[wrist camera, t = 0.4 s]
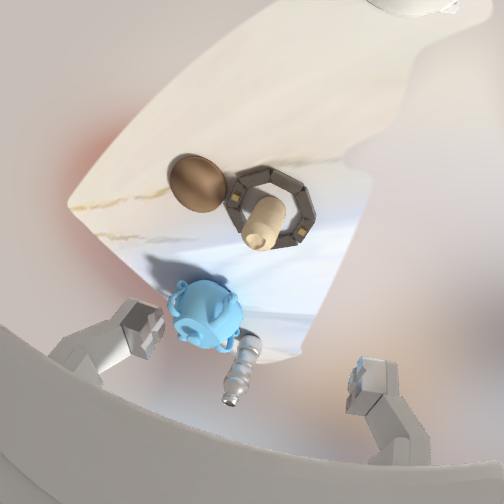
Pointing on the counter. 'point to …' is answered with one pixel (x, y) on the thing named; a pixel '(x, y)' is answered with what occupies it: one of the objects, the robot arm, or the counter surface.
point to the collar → (284, 183)
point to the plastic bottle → (241, 369)
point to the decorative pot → (206, 314)
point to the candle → (264, 224)
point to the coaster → (198, 184)
